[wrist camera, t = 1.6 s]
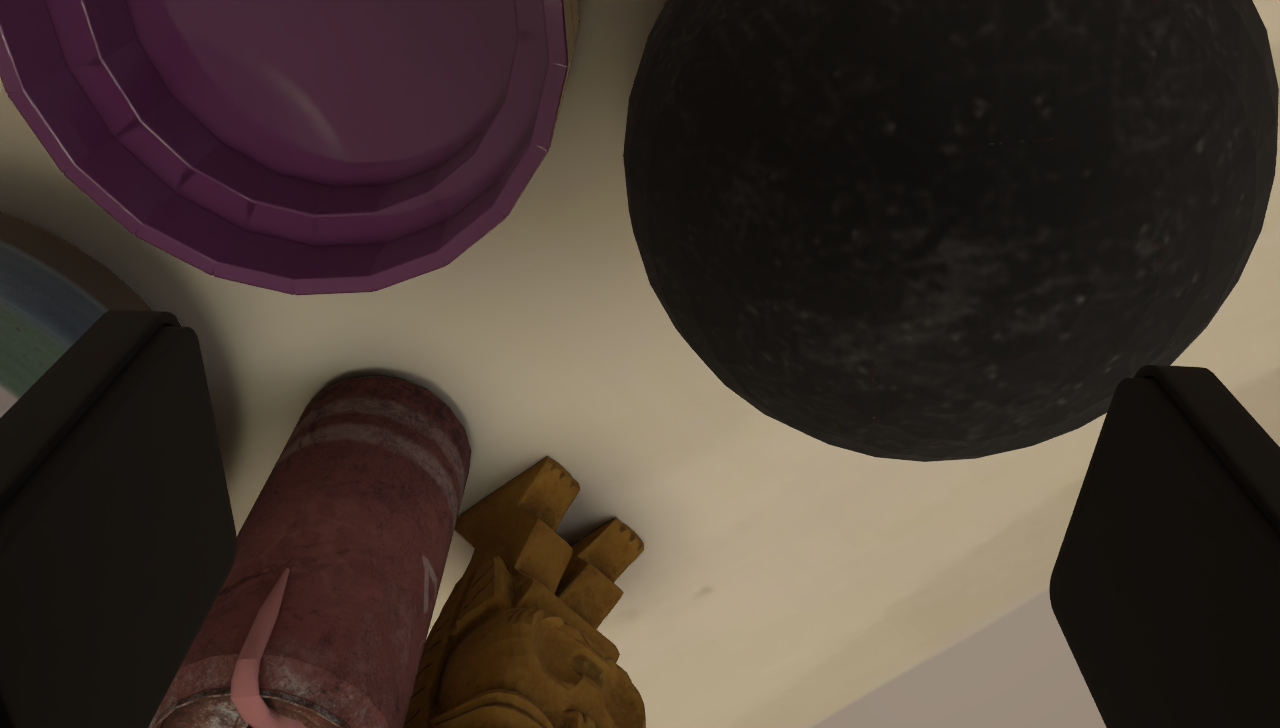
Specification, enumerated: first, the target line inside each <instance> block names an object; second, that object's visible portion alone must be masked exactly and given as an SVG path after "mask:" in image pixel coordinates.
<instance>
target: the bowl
mask: <svg viewBox="0 0 1280 728" xmlns="http://www.w3.org/2000/svg"><path fill="white" fill-rule="evenodd" d="M579 22H580V21H579V9H578V0H0V77H1V80H2V83H3V85H4V88H5V91H6V93H9V94H8V97H9V98H10V99H11V101H12V102H13V104H14V105H15V106H16V108H17V109H18V111H19V112H20V114H21V115H22V116H23V118H24V119H25V121H26V122H27V123H28V125H29V126H30V128H31V129H32V131H33V132H34V133H35V135H36V136H37V138H38V139H39V140H40V142H41V143H42V145H43V146H44V148H45V149H46V150H47V152H48V153H49V155H50V156H51V157H52V159H53V160H54V162H55V163H56V165H57V166H58V167H59V169H60V170H61V172H63V173H64V175H65V176H66V177H67V178H68V179H70V180H71V181H72V182H73V183H74V184H75V185H76V186H78V187H79V188H80V189H81V190H82V191H83V192H84V193H86V194H87V195H88V196H89V197H90V198H91V199H93V200H94V201H95V202H96V203H97V204H98V205H99V206H101V207H102V208H103V209H104V210H105V211H106V212H107V213H109V214H110V215H111V216H112V217H113V218H114V219H115V220H117V221H118V222H119V223H120V224H121V225H122V226H124V227H125V228H126V229H127V230H128V231H129V232H130V233H132V234H135V236H136V237H138V238H140V239H142V240H144V241H146V242H148V243H150V244H152V245H153V246H155V247H157V248H159V249H161V250H163V251H165V252H167V253H169V254H171V255H173V256H175V257H177V258H179V259H180V260H182V261H184V262H186V263H188V264H190V265H192V266H194V267H196V268H198V269H200V270H202V271H204V272H206V273H208V274H209V275H214V276H215V277H218V278H223V279H227V280H231V281H236V282H240V283H244V284H248V285H253V286H257V287H261V288H266V289H270V290H274V291H279V292H283V293H287V294H291V295H294V294H295V295H310V294H333V293H356V292H373V291H378V290H380V289H383V288H386V287H389V286H391V285H394V284H397V283H400V282H403V281H405V280H408V279H411V278H414V277H416V276H419V275H422V274H425V273H428V272H430V271H433V270H436V269H439V268H441V267H444V266H446V265H448V264H450V263H451V262H452V261H453V260H455V259H456V258H457V257H458V256H460V255H461V254H462V253H463V252H465V251H466V250H467V249H468V248H470V247H471V246H472V245H473V244H475V243H476V242H477V241H478V240H480V239H481V238H482V237H483V236H485V235H486V234H487V233H488V232H490V231H491V230H492V229H493V228H495V227H496V226H497V225H498V224H500V223H501V222H502V221H503V220H505V219H506V217H507V216H508V215H509V214H510V212H511V210H512V209H513V207H514V206H515V204H516V202H517V201H518V199H519V198H520V196H521V194H522V193H523V191H524V190H525V188H526V186H527V185H528V183H529V181H530V180H531V178H532V177H533V175H534V173H535V172H536V170H537V169H538V167H539V165H540V164H541V162H542V161H543V159H544V157H545V156H546V154H547V153H548V150H549V148H550V145H551V141H552V138H553V134H554V130H555V126H556V122H557V119H558V115H559V111H560V107H561V103H562V100H563V95H564V91H565V87H566V82H567V78H568V73H569V69H570V65H571V60H572V56H573V52H574V47H575V43H576V38H577V34H578V30H579Z"/></svg>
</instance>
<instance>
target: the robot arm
mask: <svg viewBox="0 0 1280 728" xmlns="http://www.w3.org/2000/svg"><path fill="white" fill-rule="evenodd" d="M236 544H237V538H236V530H235V525H234V520H233V515H232V509H231V504H230V499H229V494H228V489H227V484H226V479H225V473H224V468H223V463H222V458H221V453H220V448H219V443H218V437H217V432H216V427H215V422H214V417H213V412H212V407H211V401H210V396H209V391H208V386H207V381H206V376H205V371H204V365H203V360H202V355H201V350H200V345H199V341H198V338H197V335H196V333H195V332H194V330H193V329H191V328H190V327H181V325H180V323H179V321H178V319H177V318H176V316H175V315H173V314H172V313H170V312H156V311H137V310H118V309H114V310H109V311H107V312H106V313H104V314H103V315H102V316H101V317H100V318H99V319H98V320H97V321H96V322H95V323H94V324H93V325H92V326H91V327H90V328H89V329H88V330H87V331H86V332H85V333H84V334H83V335H82V336H81V337H80V338H79V339H78V340H77V341H76V342H75V343H74V344H73V345H72V346H71V347H70V348H69V349H68V350H67V351H66V352H65V353H64V354H63V355H62V356H61V357H60V358H59V359H58V360H57V361H56V362H55V363H54V364H53V365H52V366H51V367H50V368H49V369H48V370H47V371H46V372H45V373H44V374H43V375H42V376H41V377H40V378H39V379H38V380H37V381H36V382H35V383H34V384H33V385H32V386H31V387H30V388H29V389H28V390H27V392H26V393H25V394H24V395H23V396H22V397H21V398H20V399H19V400H18V401H17V402H16V403H15V404H14V405H13V406H12V407H11V408H10V409H9V410H8V411H7V412H6V413H5V414H4V415H3V416H2V417H1V418H0V728H148V727H149V725H150V723H151V722H152V720H153V718H154V716H155V714H156V712H157V710H158V708H159V706H160V704H161V702H162V701H163V699H164V697H165V695H166V693H167V691H168V689H169V687H170V685H171V683H172V681H173V680H174V678H175V676H176V674H177V672H178V670H179V668H180V666H181V664H182V662H183V661H184V659H185V657H186V655H187V653H188V651H189V649H190V647H191V645H192V643H193V641H194V640H195V638H196V636H197V634H198V632H199V630H200V628H201V626H202V624H203V622H204V620H205V619H206V617H207V615H208V613H209V611H210V609H211V607H212V605H213V603H214V601H215V599H216V598H217V596H218V594H219V592H220V590H221V588H222V586H223V584H224V582H225V580H226V579H227V577H228V575H229V573H230V571H231V568H232V566H233V563H234V559H235V554H236ZM1050 600H1051V606H1052V609H1053V612H1054V614H1055V616H1056V618H1057V620H1058V623H1059V625H1060V627H1061V629H1062V632H1063V634H1064V636H1065V638H1066V640H1067V642H1068V645H1069V647H1070V649H1071V651H1072V653H1073V655H1074V658H1075V660H1076V662H1077V664H1078V666H1079V669H1080V671H1081V673H1082V675H1083V677H1084V679H1085V681H1086V684H1087V686H1088V688H1089V690H1090V692H1091V695H1092V697H1093V698H1094V701H1095V703H1096V706H1097V708H1098V710H1099V712H1100V714H1101V716H1102V718H1103V721H1104V723H1105V725H1106V727H1107V728H1280V447H1279V446H1278V445H1277V444H1276V443H1275V442H1274V441H1273V439H1272V438H1271V437H1270V436H1269V435H1268V434H1267V433H1266V432H1265V430H1264V429H1263V428H1262V427H1261V426H1260V425H1259V424H1258V423H1257V422H1256V420H1255V419H1254V418H1253V417H1252V416H1251V415H1250V414H1249V413H1248V411H1247V410H1246V409H1245V408H1244V407H1243V406H1242V405H1241V404H1240V403H1239V401H1238V400H1237V399H1236V398H1235V397H1234V396H1233V395H1232V394H1231V392H1230V391H1229V390H1228V389H1227V388H1226V387H1225V386H1224V385H1223V384H1222V382H1221V381H1220V380H1219V379H1218V378H1217V377H1216V376H1215V375H1214V373H1212V372H1211V371H1210V370H1208V369H1207V368H1200V367H1184V366H1165V365H1145V366H1143V367H1141V368H1140V369H1139V370H1138V372H1137V373H1136V374H1135V375H1134V378H1125V379H1122V380H1121V381H1120V383H1119V384H1118V385H1117V387H1116V390H1115V392H1114V395H1113V397H1112V400H1111V403H1110V406H1109V409H1108V412H1107V415H1106V418H1105V421H1104V424H1103V426H1102V429H1101V432H1100V435H1099V438H1098V441H1097V444H1096V447H1095V450H1094V453H1093V456H1092V458H1091V461H1090V464H1089V467H1088V470H1087V473H1086V476H1085V479H1084V482H1083V485H1082V488H1081V490H1080V493H1079V496H1078V499H1077V502H1076V505H1075V508H1074V511H1073V514H1072V517H1071V519H1070V522H1069V525H1068V528H1067V531H1066V534H1065V537H1064V540H1063V543H1062V546H1061V549H1060V551H1059V554H1058V557H1057V560H1056V563H1055V566H1054V569H1053V572H1052V575H1051V580H1050Z"/></svg>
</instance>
